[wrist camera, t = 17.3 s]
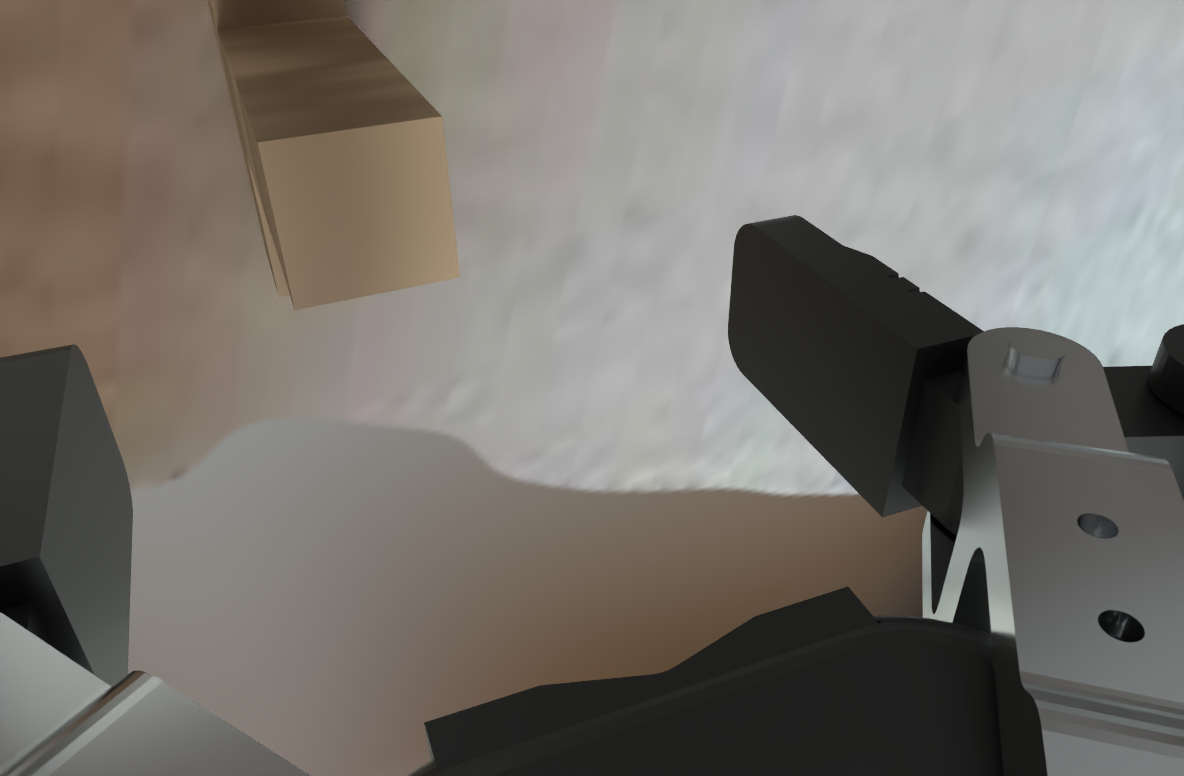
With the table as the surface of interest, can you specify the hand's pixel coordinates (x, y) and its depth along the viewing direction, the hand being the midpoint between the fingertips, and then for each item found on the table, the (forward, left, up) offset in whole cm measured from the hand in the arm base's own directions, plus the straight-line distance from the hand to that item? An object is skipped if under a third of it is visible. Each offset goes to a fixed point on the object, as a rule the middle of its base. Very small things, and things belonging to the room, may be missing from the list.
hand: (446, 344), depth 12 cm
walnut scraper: (0, 0, -18) cm, 18 cm away
